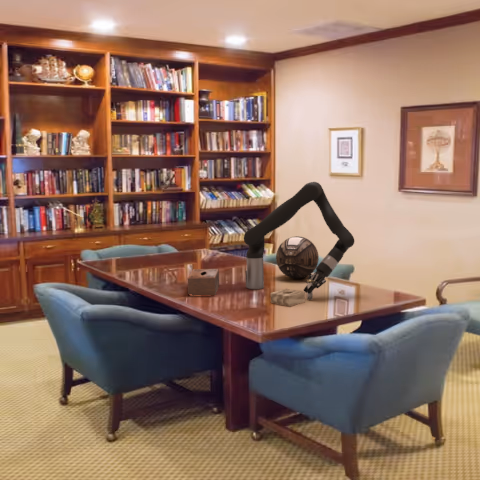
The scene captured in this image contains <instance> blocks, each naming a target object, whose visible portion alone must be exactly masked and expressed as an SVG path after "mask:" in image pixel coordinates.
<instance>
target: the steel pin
mask: <svg viewBox="0 0 480 480" xmlns="http://www.w3.org/2000/svg"><path fill="white" fill-rule="evenodd" d="M307 279H308V278H307ZM307 279H306V282H307V283H306V284H307V285H306V286H307V290H308V289H309V287H310V286H311V285H312V283H313V280H312V279H308V280H307ZM313 291H314V290H313ZM313 291H312V292H311V293H310V294H308V293H306V294H307V300H308V301H309V300H310V301H312V299H314V298H313V297H314V295H313V294H314V292H313Z"/></svg>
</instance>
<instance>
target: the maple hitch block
mask: <svg viewBox="0 0 480 480" xmlns="http://www.w3.org/2000/svg"><path fill="white" fill-rule="evenodd" d="M305 293H306V292H305V291H300V290H295V289H288V288H285V289H281V290H276V291H273V292H270V303H271V304H275V305H278V306H280V305H281V306H285V307H292V306H295V305H300V304H303V303H305V302H306V294H305ZM299 303H300V304H299Z"/></svg>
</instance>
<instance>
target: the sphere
mask: <svg viewBox="0 0 480 480" xmlns="http://www.w3.org/2000/svg"><path fill="white" fill-rule="evenodd" d="M319 256H320V255H319V251H318V249H317V247H316V245H315V243H313V242H312V241H311V240H309V239H308V238H306V237H303V236H299V235H298V236H291V237H289V238H286V239H285V240H283V241H282V242H281V243H280V244H279V246H278V248H277V250H276V254H275V260H276V261H275V262H276V265H277V267H278V269H279V271H280V272H281V273H282V274H284V275H285V277H286V276H287V278H291V279H295V280H299V279H300V280H301V279H305V278H308V277H309V274H313V273H314V272H315V270H316V267H317V266H318V265H319V258H320V257H319Z"/></svg>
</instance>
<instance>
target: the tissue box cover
mask: <svg viewBox="0 0 480 480" xmlns="http://www.w3.org/2000/svg"><path fill="white" fill-rule="evenodd" d="M219 273H220V271H219V268H193V269H192V270H191V272H190V274H189V275H188V277H187V295H188V294H192V295H217V293H216V292H218V290H219V288H220V274H219Z"/></svg>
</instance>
